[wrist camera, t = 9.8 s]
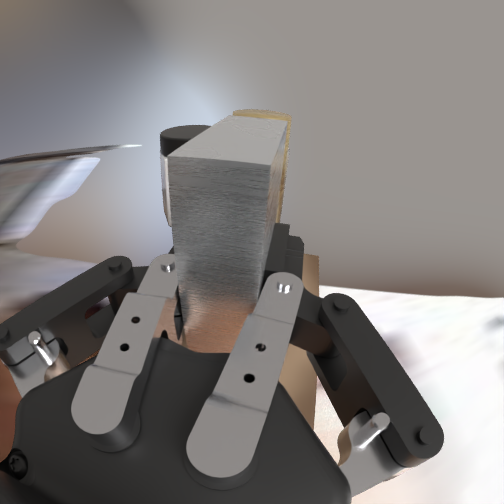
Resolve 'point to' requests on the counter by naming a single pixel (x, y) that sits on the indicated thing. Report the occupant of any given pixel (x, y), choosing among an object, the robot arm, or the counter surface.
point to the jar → (170, 143)
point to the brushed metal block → (225, 221)
